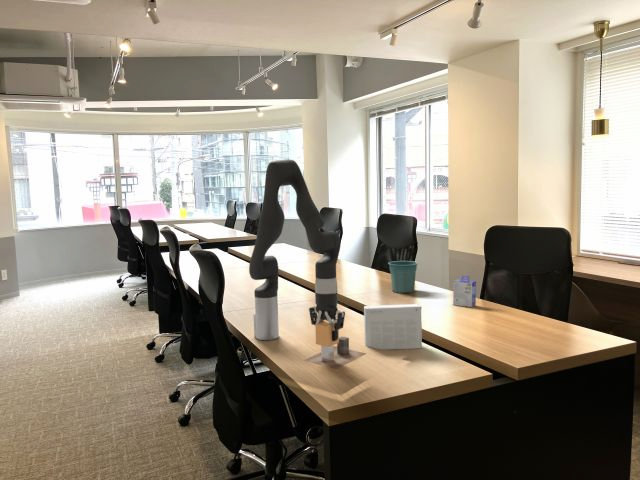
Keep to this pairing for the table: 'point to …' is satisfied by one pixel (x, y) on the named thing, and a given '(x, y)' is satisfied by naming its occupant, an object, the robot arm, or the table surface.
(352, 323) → the table surface
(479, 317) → the table surface
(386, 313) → the skincare box
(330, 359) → the front post
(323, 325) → the peach wooden cube
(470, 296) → the ink cartridge box
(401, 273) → the flower pot
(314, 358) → the post board
